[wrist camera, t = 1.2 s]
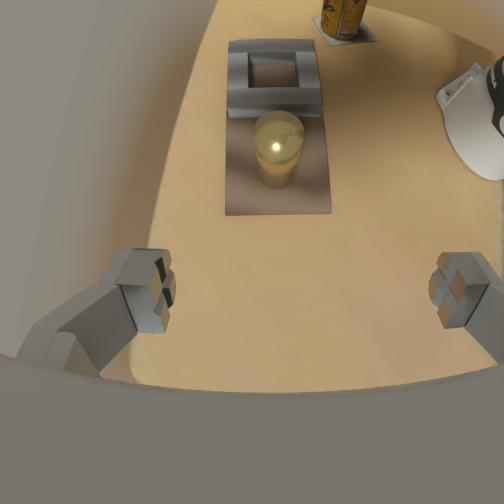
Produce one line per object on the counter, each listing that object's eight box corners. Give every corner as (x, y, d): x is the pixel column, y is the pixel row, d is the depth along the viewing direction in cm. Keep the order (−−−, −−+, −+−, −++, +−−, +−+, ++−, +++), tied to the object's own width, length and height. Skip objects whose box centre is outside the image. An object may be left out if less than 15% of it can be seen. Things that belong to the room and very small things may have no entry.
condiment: (310, 18, 40) (317, -37, 28) (356, 13, 40) (369, -37, 28) (329, 46, 39) (342, -11, 27) (377, 41, 39) (397, -11, 27)
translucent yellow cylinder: (275, 146, 36) (275, 102, 26) (303, 169, 36) (314, 130, 26) (250, 172, 36) (243, 133, 26) (279, 196, 36) (282, 163, 26)
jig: (229, 56, 39) (225, 39, 35) (312, 55, 39) (315, 37, 35) (226, 215, 37) (221, 207, 33) (329, 213, 36) (336, 205, 32)
